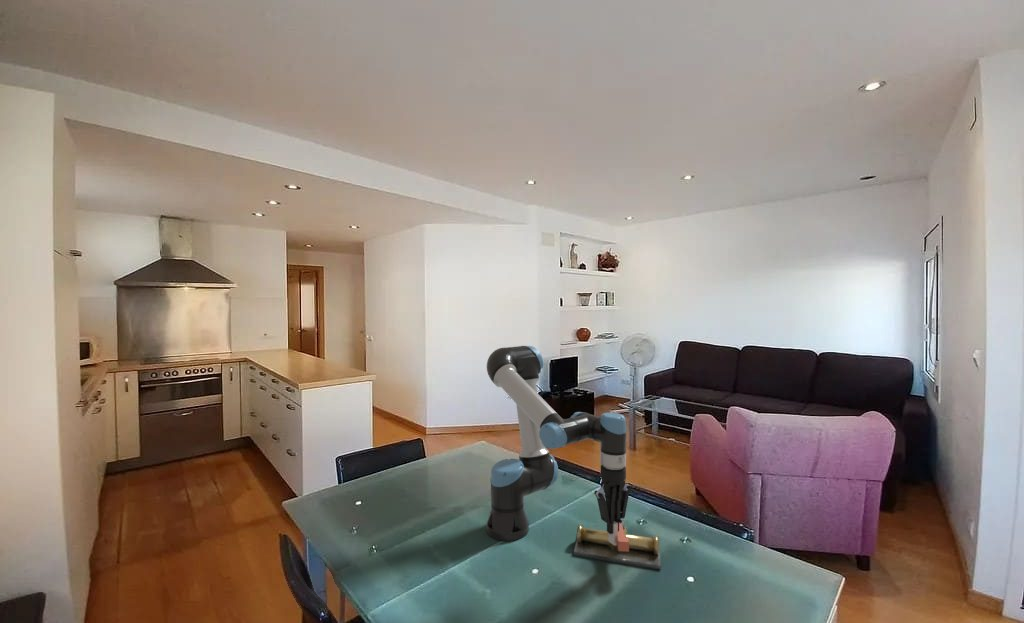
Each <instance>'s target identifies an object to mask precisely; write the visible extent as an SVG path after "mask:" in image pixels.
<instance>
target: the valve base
mask: <svg viewBox="0 0 1024 623" xmlns="http://www.w3.org/2000/svg"><path fill="white" fill-rule="evenodd" d="M627 531H628V529H627V527H626V526H625V529H624V533H625V537H628V540H629V552H627V551H618V547H617V545H615V546H614V545H613V544H611V543H610V542H609V541H608V532H607V530H600V529H595V528H589V527H588V528H587V527H583V525H580V524H579V525H577V532H576V542H575V545H574V550H573V555H574V556H577V557H583V558H589V559H594V560H601V561H604V562H605V561H607V562H613V563H618V564H625V565H629V566H636V567H640V568H647V569H652V570H653V569H655V570H659V571H660V570H662V568H661V566H662V564H661V563H662V562H661V554H660V541H659V536H656V535H654V536H653V537H649V536H644V535H643V536H642V535H634V534H629V533H627Z"/></svg>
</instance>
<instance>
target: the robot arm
mask: <svg viewBox="0 0 1024 623" xmlns="http://www.w3.org/2000/svg"><path fill="white" fill-rule="evenodd" d="M543 368H544V359H543V356H542V354H541V352H540V351H539V350H538V349H537V348H536V347H535V346H533V345H532V346H531V345H518V346H509V347H500V348H497V349H495V350H494V351H493V352H491V353H490V355H489V356H488V359H487V362H486V372H487V375H488V377H489V379H490V380H491V382H492V383H493V384H494V385H495V386H496V387H498V388H501V389H502V390H503V391H504V392H505V393H506V394H507V395H508V396H509V397H510V399H512V401H513V402H514V403H515V405H516V412H517V419H518V427H519V436H520V442H521V443H520V444H521V451H520V452H519V454H518V459H517V458H509V459H508V458H505V459H502V460H500V461H497V462H496V463H495V464H493V466H492V468H491V471H490V478H489V480H490V511H489V514H488V517H487V520H486V527H485V529H486V533H487V534H488V536H489V537H491V538H492V539H495V540H498V541H504V542H505V541H506V542H508V541H509V542H510V541H516V540H520V539H522V538H524V537H525V536H526V535H527V534H528V533H529V529H530V527H529V525H530V524H529V519H528V515H527V513H526V510H525V507H524V506H525V505H524V504H525V503H524V502H525V500H524V497H526V496H529V495H531V494H534V493H537V492H539V491H544V490H547V489H548V488H549V487H550V488H551V486H553V485H555V483H556V481H557V480H558V476H559V467H558V463H557V461H556V460H555V457H554V455H552V454H550V450H554V449H561V448H564V447H565V446H568V445H572V444H575V443H576V444H577V443H580V442H582V441H586V440H591V441H595V442H597V443H600V464H601V465H600V479H601V483H600V488H599V489H598V490H594V493H593V494H594V495H595V497H596V500H597V505H598V509H599V515H600V518H601V520H602V521H603V522H604V523H606V531H607V532H608V541H609V542H610V543H611V544H613V545H614V546H615V545H617V537H618V532H619V523H622V521H623V520H621V519H625V517H626V512H627V507H628V502H629V497H630V496H629V494H630V492H631V490H632V489H633V488H632V485H630V484H628V483H626V479H627V468H626V466H627V449H626V446H627V444H626V443H627V431H628V430H627V429H628V428H627V420H626V417H625V416H624V414H621V413H618V412H604V413H601V415H600V416H598V415H594V414H590V413H588V412H582V411H576V412H574V413H573V414H572V415H571V416H570V417H569V418H562V417H561V416H560V415H559V414H558V412H556V410H554V408H552V406H550V405H549V403H548V402H547V401H546V400H545V399H543V397H542V396H541V395H540V394H538V389H537V388H538V387H537V383H538V381H539V380H540V376H539V374H541V372H542V371H543Z"/></svg>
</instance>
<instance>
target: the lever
mask: <svg viewBox="0 0 1024 623" xmlns="http://www.w3.org/2000/svg"><path fill="white" fill-rule="evenodd" d="M625 525H626V524H625V521H623V520H622V523H619V532H618V537H617V547H618V551H627V552H629V540H628V537H625V533H624V529H625V527H626V526H625Z"/></svg>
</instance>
